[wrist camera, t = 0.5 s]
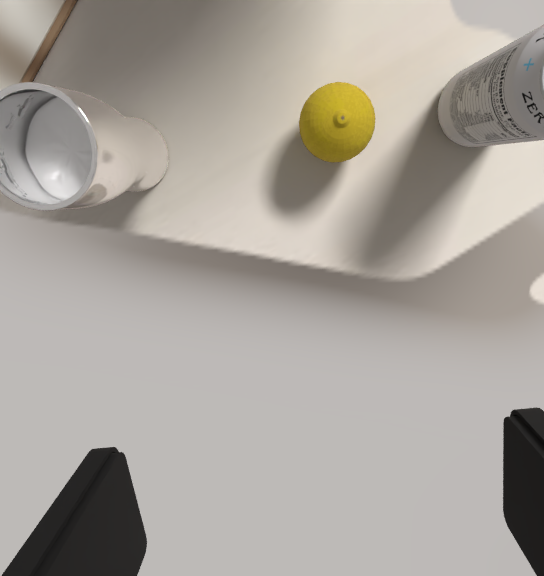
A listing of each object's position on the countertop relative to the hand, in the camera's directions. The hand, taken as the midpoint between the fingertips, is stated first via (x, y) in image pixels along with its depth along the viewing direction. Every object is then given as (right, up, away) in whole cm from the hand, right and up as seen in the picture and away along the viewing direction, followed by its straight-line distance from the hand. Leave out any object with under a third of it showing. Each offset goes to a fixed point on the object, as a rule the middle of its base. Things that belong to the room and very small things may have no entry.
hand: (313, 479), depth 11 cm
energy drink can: (+15, +19, +25) cm, 35 cm away
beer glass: (-13, +16, +27) cm, 34 cm away
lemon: (+4, +18, +26) cm, 32 cm away
